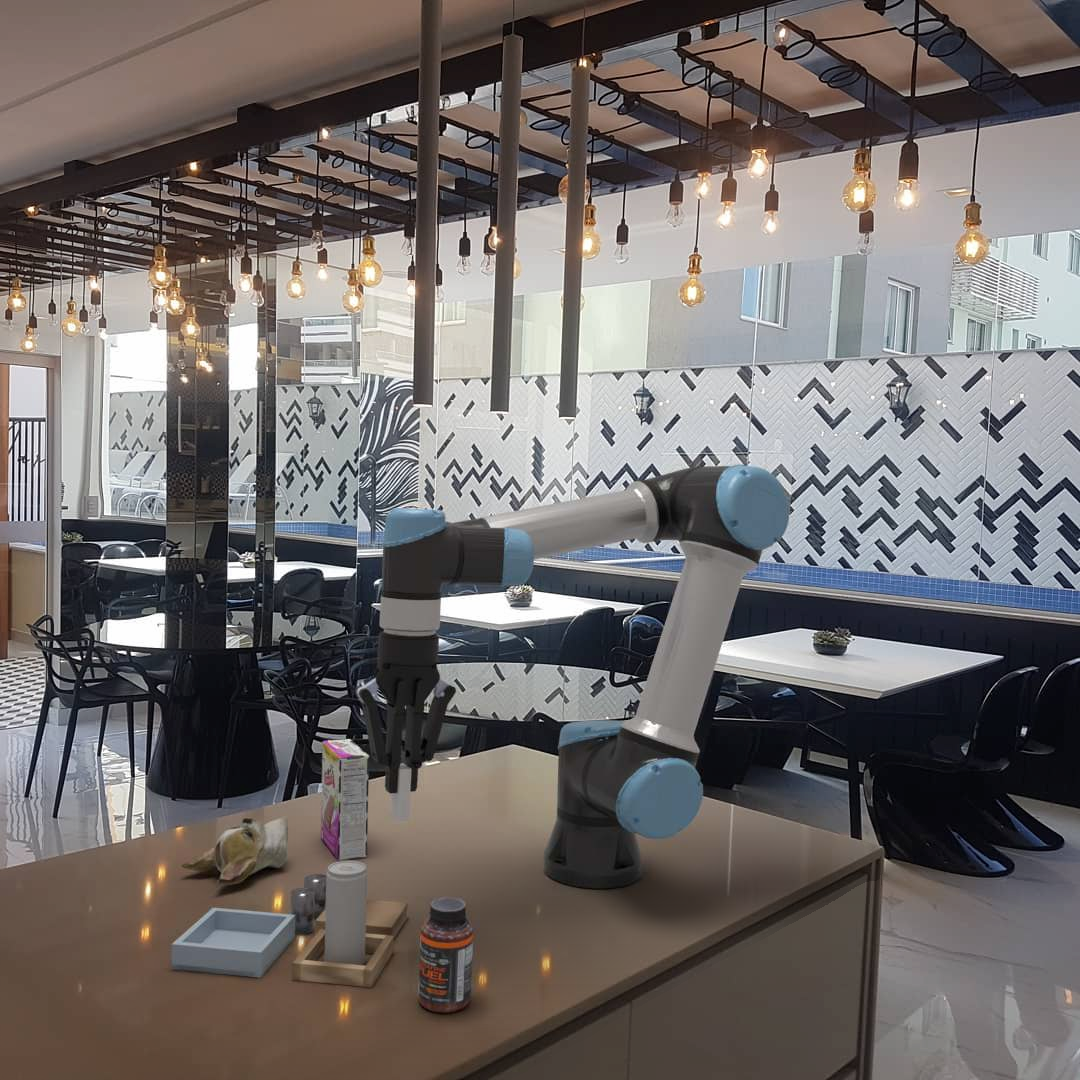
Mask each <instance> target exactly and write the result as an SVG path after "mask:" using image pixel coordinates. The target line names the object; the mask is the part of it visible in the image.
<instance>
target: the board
mask: <svg viewBox="0 0 1080 1080" xmlns="http://www.w3.org/2000/svg"><path fill="white" fill-rule="evenodd" d="M408 905H409V904H408V902H401V901H388V900H379V899H377V900H375V899H367V901H366V933H367V934H378V935H389V936H394V939H395V938H396V936H397V934H399V932H400V930H401V928H402V927H403V925H404V923H405V922H406V920H407V919H408ZM325 920H326V909H325V910H324V911H323V912H322V913H321V915H320V916H319V917H318V918H317V919H315V920H314V925H315V927H314V930H315V931H314V936H315V935H316V934H317V933H318V931H319V930H320V929H323V930H325Z"/></svg>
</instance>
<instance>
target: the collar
mask: <svg viewBox="0 0 1080 1080" xmlns="http://www.w3.org/2000/svg"><path fill="white" fill-rule="evenodd" d="M394 947H395V938H394V936H389V935H378V934H367V933H366V938H365V954H372V956H371V957H370V959H369V961H368V963H367V964H366V965H364V964H363V965H353V964H342V963H332V962H325V961H319V960H318V959H319V958H320V956H321V954H322V953H323V952H325V930H323V929H320V930H319V931H318V933H317V934H316V935H315V934H314V937H312V939H311V940H310V941H309V942H308V944H307V945H306V946H305V947H304V948H303V950H301V952H300V953H299V954H298V956H297V957H296V958H295V960H294V961H292V969H291V970H292V975H291V978H292V979H291V980H292V981H302V982H312V983H324V984H330V985H331V984H332V985H341V986H342V985H343V986H353V987H364V988H372V987H373V986H374V984H375V983H376V981H377V979H378V978H379V976H380V975H381V973H382V971H383V970H384V968H385V967H386V965H387V963H388V961H389V960H390V958H391V956H392V955H393V953H394V952H395V948H394Z"/></svg>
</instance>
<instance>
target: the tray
mask: <svg viewBox="0 0 1080 1080" xmlns="http://www.w3.org/2000/svg"><path fill="white" fill-rule="evenodd" d="M295 937H296V935H295V915H291V914H290V913H289V914H288V913H280V912H279V913H277V912H268V911H267V912H265V911H256V910H255V911H254V910H246V909H244V910H243V909H232V908H221V907H211V909H209V911H208V912H206V913H204V915H203V916H202V917H200V919H199V920H198V921H196V922H195V923H194V924H192V925H191V926H190V928H188V929H187V930H186V931H184V933H183V934H181V935H180V936H179V937H178V938H177V939H176V940H175V941H173V943H171V967H170V968H171V970H177V971H178V970H179V971H185V972H187V971H188V972H197V973H199V972H200V973H206V974H207V973H208V974H218V975H219V974H221V975H228V976H229V975H230V976H239V977H248V978H249V977H250V978H260V979H261V978H262V977H263V976H264V975H265V973H266V972H267V971H268V970H269V969H270V968H271V966H272V965H273V964H274V963H275V962H276V960H277V959H278V958H279V957H280V956H281V955H282V954H283V953H284V952H285V950H286V949H287V947H289V946H290V944H292V942H293V941H294V940H295Z"/></svg>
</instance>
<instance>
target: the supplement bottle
mask: <svg viewBox="0 0 1080 1080" xmlns="http://www.w3.org/2000/svg"><path fill="white" fill-rule="evenodd" d="M429 905H430V907H429V908H430V910H429V916H430V917H427V919H426V920H424V921H423V923H422V925H421V928H420V939H419V940H420V941H419V942H420V944H419V963H418V964H419V967H418V991H417V992H418V993H417V994H418V1002H419V1003H420V1005H421V1006H422V1007H424V1008H425V1009H427V1010H429V1011H432V1012H436V1013H441V1014H442V1013H443V1014H446V1013H452V1012H457V1011H459V1010H462V1009H464V1008H465V1007H466V1006H468V1005H469V1003H470V1001H471V996H472V995H471V994H472V976H473V975H472V973H473V952H474V950H473V948H474V925H473V923H472V922H471V921H470V919H468V918H467V917H466V916H467V913H466V911H467V910H466V909H467V904H466V902H465V900H462V899H461V898H458V897H451V896H449V897H448V896H445V897H439V898H435V899H434V900H432V901H431V902H430V904H429Z"/></svg>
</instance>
